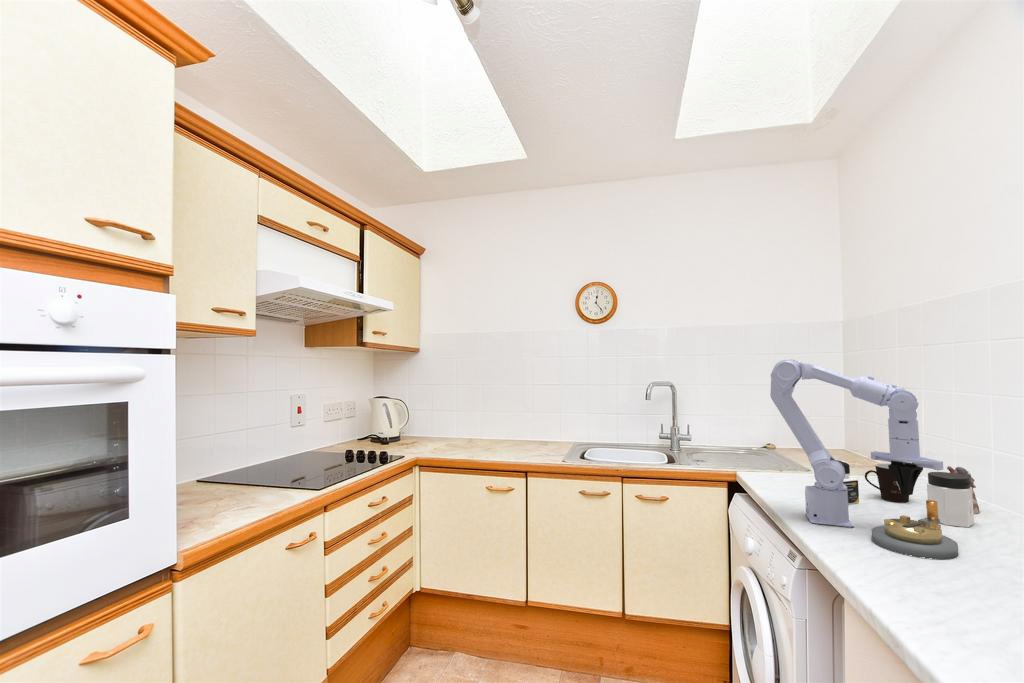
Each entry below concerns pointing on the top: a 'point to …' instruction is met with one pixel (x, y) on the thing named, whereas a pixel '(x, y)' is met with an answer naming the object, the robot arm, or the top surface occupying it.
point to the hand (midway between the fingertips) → (907, 494)
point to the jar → (952, 498)
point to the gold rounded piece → (917, 527)
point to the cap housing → (915, 546)
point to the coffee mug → (887, 484)
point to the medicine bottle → (850, 484)
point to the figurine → (964, 472)
